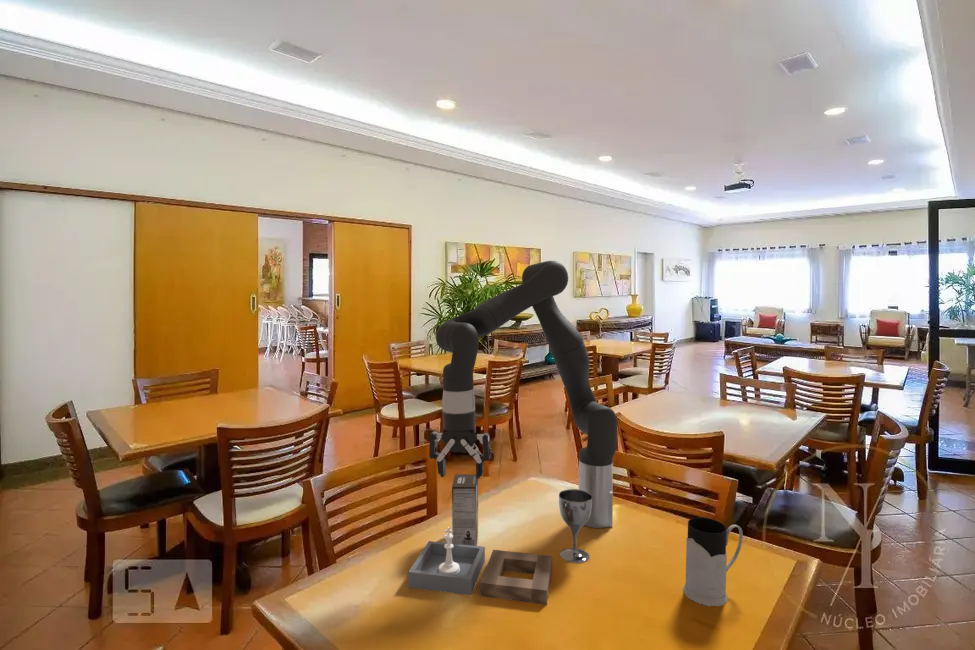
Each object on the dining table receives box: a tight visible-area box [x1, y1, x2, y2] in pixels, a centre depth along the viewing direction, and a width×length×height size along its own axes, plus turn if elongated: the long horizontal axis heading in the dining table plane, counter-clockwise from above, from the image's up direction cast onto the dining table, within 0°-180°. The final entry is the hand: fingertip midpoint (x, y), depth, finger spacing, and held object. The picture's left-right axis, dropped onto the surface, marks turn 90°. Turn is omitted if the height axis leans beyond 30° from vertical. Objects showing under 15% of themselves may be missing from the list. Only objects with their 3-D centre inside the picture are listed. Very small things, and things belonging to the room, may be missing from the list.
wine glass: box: [558, 488, 592, 564], centre depth 122 cm, size 8×8×15 cm
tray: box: [408, 540, 486, 596], centre depth 115 cm, size 14×14×4 cm
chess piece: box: [438, 526, 460, 575], centre depth 115 cm, size 5×5×10 cm
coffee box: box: [451, 473, 479, 546], centre depth 130 cm, size 9×6×16 cm
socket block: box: [479, 549, 553, 605], centre depth 111 cm, size 14×14×3 cm
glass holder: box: [683, 517, 744, 607], centre depth 108 cm, size 9×14×15 cm, turn 111°
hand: (460, 476), depth 117 cm, fingers open, 8 cm apart
